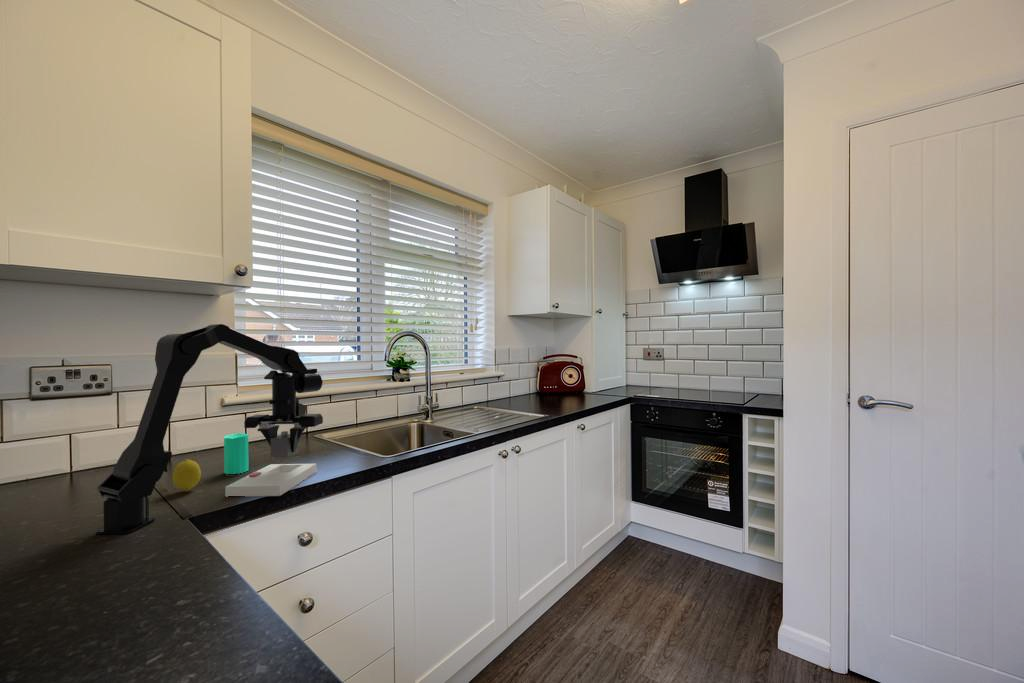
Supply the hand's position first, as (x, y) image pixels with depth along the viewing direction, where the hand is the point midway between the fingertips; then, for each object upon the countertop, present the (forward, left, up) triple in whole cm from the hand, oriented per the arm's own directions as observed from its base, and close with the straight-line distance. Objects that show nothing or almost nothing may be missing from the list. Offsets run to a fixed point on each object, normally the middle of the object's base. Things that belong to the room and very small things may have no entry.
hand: (284, 452), depth 115 cm
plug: (0, 0, -1) cm, 1 cm away
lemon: (-10, +19, -7) cm, 23 cm away
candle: (+6, +17, -7) cm, 19 cm away
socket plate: (-5, 0, -7) cm, 8 cm away
